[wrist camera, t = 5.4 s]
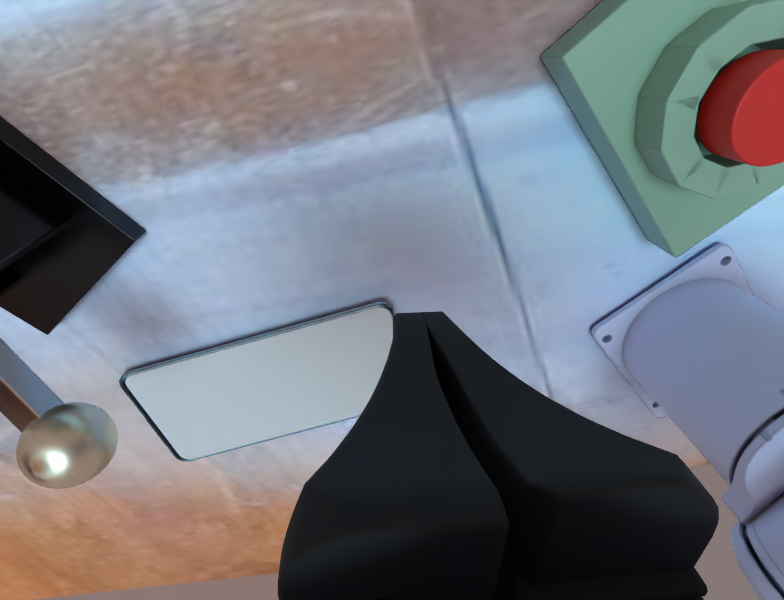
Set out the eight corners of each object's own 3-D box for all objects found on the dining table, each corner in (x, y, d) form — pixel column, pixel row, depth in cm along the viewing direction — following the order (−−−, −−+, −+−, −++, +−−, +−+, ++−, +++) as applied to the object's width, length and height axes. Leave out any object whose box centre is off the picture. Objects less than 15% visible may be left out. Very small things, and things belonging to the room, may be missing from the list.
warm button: (806, 110, 16) (853, 116, 15) (715, 176, 17) (750, 188, 16) (780, 24, 15) (829, 21, 13) (681, 101, 16) (716, 106, 14)
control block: (804, 131, 21) (897, 148, 17) (648, 241, 23) (702, 276, 19) (726, -111, 16) (833, -155, 12) (538, 56, 18) (584, 58, 15)
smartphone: (113, 378, 23) (390, 301, 22) (118, 371, 23) (389, 296, 23) (180, 464, 26) (421, 400, 26) (182, 457, 27) (420, 394, 26)
